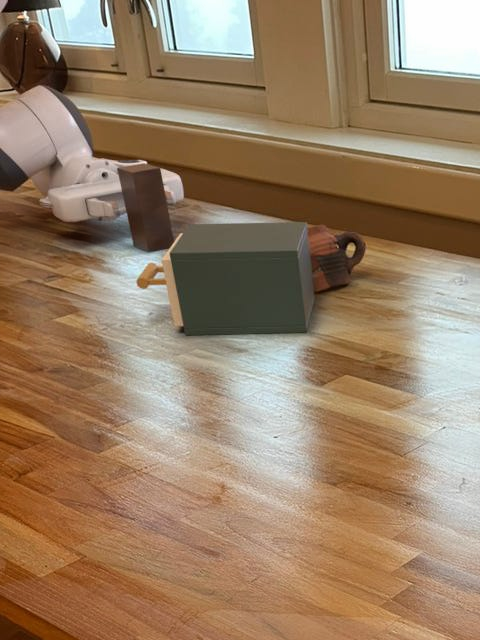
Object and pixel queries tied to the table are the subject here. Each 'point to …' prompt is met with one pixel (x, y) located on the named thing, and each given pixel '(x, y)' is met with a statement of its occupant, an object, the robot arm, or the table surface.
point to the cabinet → (244, 278)
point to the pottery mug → (332, 256)
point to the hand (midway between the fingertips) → (143, 204)
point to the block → (146, 207)
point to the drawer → (163, 282)
